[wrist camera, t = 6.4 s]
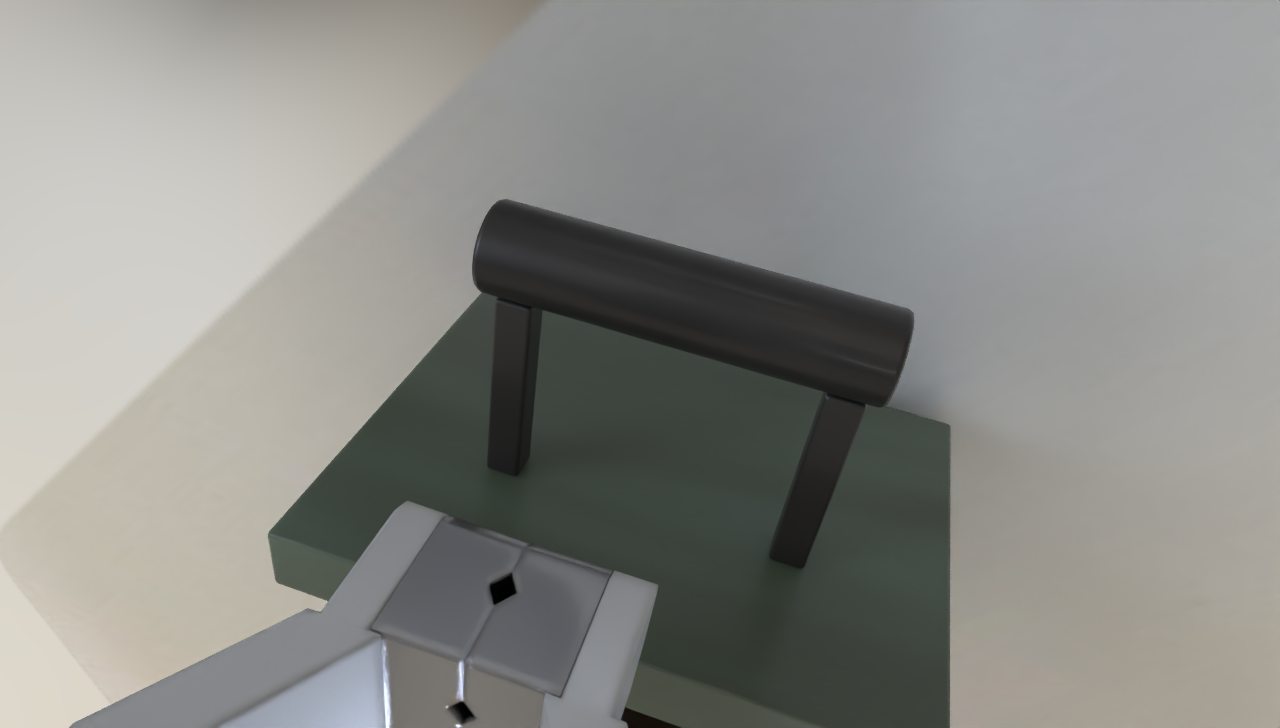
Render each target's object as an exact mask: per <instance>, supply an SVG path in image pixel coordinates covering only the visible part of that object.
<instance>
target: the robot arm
mask: <svg viewBox="0 0 1280 728" xmlns="http://www.w3.org/2000/svg"><path fill="white" fill-rule="evenodd" d="M657 591H658V584H655V583H652V582H649V581H645V580H642V579H639V578H636V577H633V576H630V575H627V574H624V573H621V572H618V571H614V569H612V568H609V567H606V566H603V565H600V564H597V563H594V562H590V561H587V560H584V559H581V558H578V557H575V556H571V555H568V554H565V553H562V552H559V551H556V550H553V549H549V548H546V547H543V546H540V545H537V544H534V543H530V544H528V543H525V542H522V541H519V540H517V539H514V538H511V537H508V536H506V535H503V534H500V533H497V532H495V531H492V530H489V529H486V528H484V527H481V526H478V525H475V524H473V523H470V522H467V521H464V520H462V519H459V518H456V517H453V516H451V515H448V514H445V513H442V512H439V511H436V510H433V509H430V508H428V507H425V506H422V505H419V504H416V503H413V502H410V501H406V502H405V503H403V504H402V505H401V506H399V507H398V508H397V509H395V510H394V511H393V513H392V514H391V516H390V517H389V518H388V520H387V521H386V522H385V524H384V525H383V527H382V528H381V529H380V531H379V532H378V534H377V535H376V536H375V538H374V539H373V540H372V542H371V543H370V545H369V546H368V547H367V549H366V550H365V551H364V553H363V554H362V556H361V557H360V558H359V560H358V561H357V562H356V564H355V565H354V567H353V568H352V569H351V571H350V572H349V573H348V575H347V576H346V578H345V579H344V580H343V582H342V583H341V585H340V586H339V587H338V589H337V590H336V591H335V593H334V594H333V596H332V597H331V598H330V600H329V601H328V602H327V604H326V605H325V607H324V608H323V609H322V611H321V612H318V611H314V610H311V609H306V610H303V611H301V612H299V613H297V614H295V615H293V616H291V617H289V618H287V619H285V620H283V621H281V622H279V623H277V624H275V625H273V626H271V627H269V628H267V629H265V630H263V631H261V632H259V633H257V634H254V635H252V636H250V637H248V638H246V639H244V640H242V641H240V642H238V643H236V644H234V645H232V646H230V647H228V648H226V649H224V650H222V651H220V652H218V653H216V654H214V655H212V656H210V657H208V658H205V659H203V660H201V661H199V662H197V663H195V664H193V665H191V666H189V667H187V668H185V669H183V670H181V671H179V672H177V673H175V674H173V675H171V676H169V677H167V678H165V679H163V680H161V681H158V682H156V683H154V684H152V685H150V686H148V687H146V688H144V689H142V690H140V691H138V692H136V693H134V694H132V695H130V696H128V697H126V698H124V699H122V700H120V701H118V702H116V703H114V704H112V705H110V706H108V707H106V708H103V709H102V710H99V711H97V712H95V713H93V714H91V715H89V716H87V717H85V718H83V719H81V720H79V721H77V722H75V723H73V724H72V725H71V726H70V727H69V728H628V726H627V722H624V721H622V720H621V717H622V714H623V711H624V708H625V705H626V702H627V699H628V696H629V693H630V690H631V687H632V683H633V680H634V676H635V673H636V669H637V666H638V662H639V659H640V655H641V651H642V648H643V644H644V641H645V637H646V633H647V629H648V625H649V622H650V618H651V614H652V610H653V607H654V603H655V599H656V595H657Z"/></svg>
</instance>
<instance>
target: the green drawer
mask: <svg viewBox="0 0 1280 728" xmlns="http://www.w3.org/2000/svg"><path fill="white" fill-rule="evenodd" d="M472 273H473V281H474V284H475V286H476V287H477V289H479V290H480V291H481V292H482V293H481V294H480V295H479V296H478V297H477V299H476V300H475V301H474V302H473V303H472V304H471V305H470V306H469V308H468V309H467V310H466V311H465V312H464V313H463V314H462V315H461V317H460V318H459V319H458V320H457V321H456V322H455V323H454V324H453V326H452V327H451V328H450V329H449V330H448V331H447V332H446V333H445V335H444V336H443V337H442V338H441V339H440V340H439V341H438V342H437V344H436V345H435V346H434V347H433V348H432V349H431V350H430V351H429V353H428V354H427V355H426V356H425V357H424V358H423V359H422V360H421V362H420V363H419V364H418V365H417V366H416V367H415V368H414V369H413V370H412V372H411V373H410V374H409V375H408V376H407V377H406V378H405V379H404V381H403V382H402V383H401V384H400V385H399V386H398V387H397V388H396V390H395V391H394V392H393V393H392V394H391V395H390V396H389V397H388V399H387V400H386V401H385V402H384V403H383V404H382V405H381V406H380V408H379V409H378V410H377V411H376V412H375V413H374V414H373V415H372V417H371V418H370V419H369V420H368V421H367V422H366V423H365V424H364V426H363V427H362V428H361V429H360V430H359V431H358V432H357V433H356V435H355V436H354V437H353V438H352V439H351V440H350V441H349V442H348V444H347V445H346V446H345V447H344V448H343V449H342V450H341V451H340V453H339V454H338V455H337V456H336V457H335V458H334V459H333V460H332V462H331V463H330V464H329V465H328V466H327V467H326V468H325V469H324V471H323V472H322V473H321V474H320V475H319V476H318V477H317V478H316V480H315V481H314V482H313V483H312V484H311V485H310V486H309V487H308V489H307V490H306V491H305V492H304V493H303V494H302V495H301V496H300V498H299V499H298V500H297V501H296V502H295V503H294V504H293V505H292V507H291V508H290V509H289V510H288V511H287V512H286V513H285V514H284V516H283V517H282V518H281V519H280V520H279V521H278V522H277V523H276V525H275V526H274V527H273V528H272V529H271V530H270V531H269V534H268V539H269V545H270V551H271V557H272V563H273V568H274V574H275V580H276V582H278V583H279V584H282V585H285V586H288V587H290V588H293V589H296V590H299V591H302V592H304V593H307V594H310V595H313V596H316V597H318V598H321V599H324V600H327V601H329V600H330V598H331V597H332V596H333V594H334V593H335V591H336V590H337V589H338V587H339V586H340V585H341V583H342V582H343V580H344V579H345V578H346V576H347V575H348V573H349V572H350V571H351V569H352V568H353V567H354V565H355V564H356V562H357V561H358V560H359V558H360V557H361V556H362V554H363V553H364V551H365V550H366V549H367V547H368V546H369V545H370V543H371V542H372V540H373V539H374V538H375V536H376V535H377V534H378V532H379V531H380V529H381V528H382V527H383V525H384V524H385V522H386V521H387V520H388V518H389V517H390V516H391V514H392V513H393V511H394V510H395V509H397V508H398V507H399V506H401V505H402V504H403V503H405V502H406V501H410V502H413V503H416V504H419V505H422V506H425V507H428V508H430V509H433V510H436V511H439V512H442V513H445V514H448V515H451V516H453V517H456V518H459V519H462V520H464V521H467V522H470V523H473V524H475V525H478V526H481V527H484V528H486V529H489V530H492V531H495V532H497V533H500V534H503V535H506V536H508V537H511V538H514V539H517V540H519V541H522V542H525V543H528V544H530V543H534V544H537V545H540V546H543V547H546V548H549V549H553V550H556V551H559V552H562V553H565V554H568V555H571V556H575V557H578V558H581V559H584V560H587V561H590V562H594V563H597V564H600V565H603V566H606V567H609V568H612V569H614V571H618V572H621V573H624V574H627V575H630V576H633V577H636V578H639V579H642V580H645V581H649V582H652V583H655V584H658V591H657V595H656V599H655V603H654V607H653V610H652V614H651V618H650V622H649V625H648V629H647V633H646V637H645V641H644V644H643V648H642V651H641V655H640V659H639V662H638V666H637V669H636V673H635V676H634V680H633V683H632V687H631V690H630V693H629V696H628V699H627V702H626V705H625V708H624V711H623V714H622V717H621V720H622V721H624V722H627V726H628V728H950V437H951V428H950V425H948V424H946V423H942V422H939V421H935V420H932V419H928V418H925V417H921V416H918V415H915V414H911V413H908V412H904V411H901V410H897V409H894V408H891V407H887V406H886V405H887V403H888V402H889V401H890V399H891V397H892V396H893V394H894V391H895V389H896V387H897V384H898V382H899V379H900V377H901V374H902V371H903V368H904V365H905V362H906V358H907V355H908V351H909V347H910V343H911V339H912V334H913V329H914V313H913V312H912V311H911V310H910V309H908V308H904V307H900V306H897V305H893V304H889V303H886V302H882V301H878V300H875V299H871V298H867V297H864V296H860V295H856V294H853V293H849V292H845V291H842V290H838V289H834V288H831V287H827V286H823V285H820V284H816V283H812V282H809V281H805V280H801V279H798V278H794V277H790V276H787V275H783V274H779V273H776V272H772V271H768V270H765V269H761V268H757V267H754V266H750V265H746V264H743V263H739V262H735V261H732V260H728V259H724V258H721V257H717V256H713V255H710V254H706V253H702V252H699V251H695V250H691V249H688V248H684V247H680V246H677V245H673V244H669V243H666V242H662V241H658V240H655V239H651V238H647V237H644V236H640V235H636V234H633V233H629V232H626V231H622V230H618V229H615V228H611V227H607V226H604V225H600V224H596V223H593V222H589V221H585V220H582V219H578V218H574V217H571V216H567V215H563V214H560V213H556V212H552V211H549V210H545V209H541V208H538V207H534V206H530V205H527V204H523V203H519V202H516V201H512V200H508V199H504V200H499V201H497V202H496V203H495V204H494V205H493V206H492V207H491V209H490V210H489V211H488V213H487V215H486V217H485V219H484V221H483V223H482V225H481V228H480V230H479V233H478V236H477V240H476V244H475V248H474V254H473V264H472Z"/></svg>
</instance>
